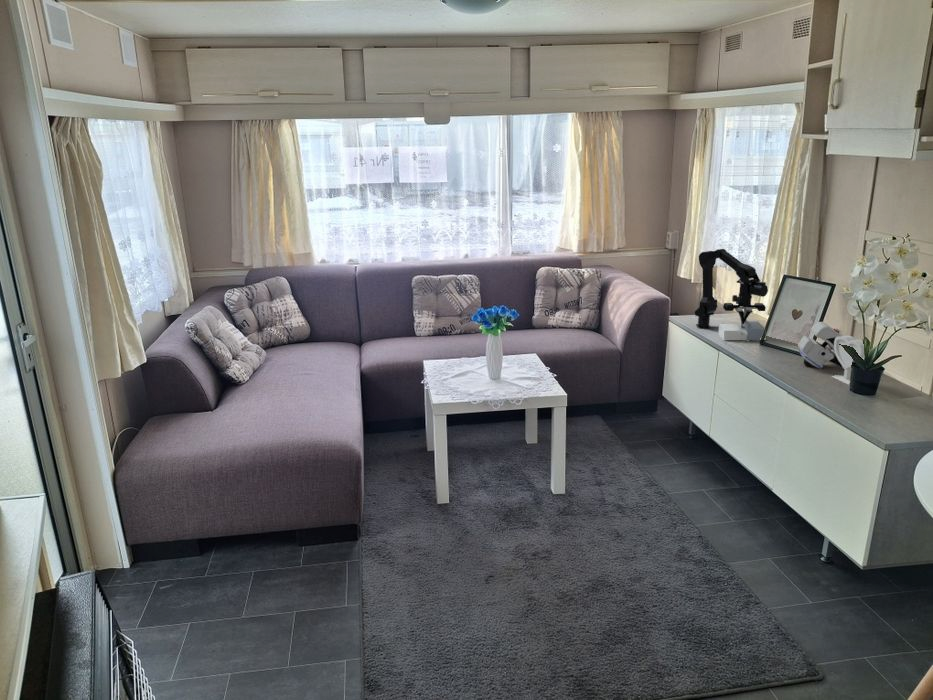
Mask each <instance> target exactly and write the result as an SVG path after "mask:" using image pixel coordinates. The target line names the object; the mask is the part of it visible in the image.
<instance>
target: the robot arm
mask: <svg viewBox="0 0 933 700" xmlns="http://www.w3.org/2000/svg"><path fill="white" fill-rule="evenodd" d="M717 259H719V260H721V261H722V262H723V263H725V264H726V265H727V266H728V267H729V268H731V269H732V270H734V271H735V274H736V276H737V277H738V278H739V279H737V280H736V283H737V284H739V292H738V295H737V294H734V295H732V296H731V297H732V298H731V302H724V303H723V305H722V308H723V310H724V311H726V312H733V311H734V310H735V311H736V312H737V313H738V315H739V319H740V322H741V323H742V324H744V323H745V321H746V320H747V319H748V318H749V316H750V315H751V314H753V312H754V311H753V310H754V309H755V310H757V311H759V312H766V305H765V304H764V303H762V302H754V304H752V299H753V296H756V297H762V298H764V297H765V296H767V294H768V292H769V288H768V286H767V285H766V284H767V283H766V281H761V280H760V278H759V275H758V273H757V272H756V268H755V267H753V266H752V265H749V264H746V263H743V262H741V261H740V260H739V259H737V258H736V257H735V256H734V255H732V254H731V253H730V252H728V251H727V250H726V248H725V249H724V248H718V249H715V250H707V251H701V252H700V254H699V255H698V262H699V265H700V267H701V269H702V297H701V299H700V301H699V307H698V308H697V309H696V310H695V311H694V315H695V317H698V318H697V323H696V325H695V326H696V328H698V329H711V328H712V326H711V325H710V322H711V321H710V320H711V319H710V317H711V316H714V314H715V313H716V311H717V309H718V299H715V297H714V290H713V289H714V287H713V286H714V284H713V283H714V280H713V278H714V276H713V275H714V266H715V264H716V261H717ZM734 302H735V304H733V303H734ZM741 323H740V324H741Z"/></svg>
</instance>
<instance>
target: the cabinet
mask: <svg viewBox="0 0 933 700" xmlns="http://www.w3.org/2000/svg"><path fill="white" fill-rule="evenodd" d="M740 328H746V329H747V330H748V334H747V340H753V341H752V342H760V341H759V340H760V338H761V337H762V335H763V332H764V329H765V330H766V328H765V326H763V325H762V324H761V323H760V322H759V321H756V320H755V321H754V320H753V321H752V320H749V321H748V320H747V319H746V321H745V323H744V324H742V323H740ZM754 340H756V341H754Z"/></svg>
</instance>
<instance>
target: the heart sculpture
mask: <svg viewBox="0 0 933 700" xmlns="http://www.w3.org/2000/svg"><path fill="white" fill-rule="evenodd" d="M839 344H841V345H847V346H850V347H853V348H854V349H855V350H856V352H857V353H858V355H859V356H860V357H861V358H862V359H863V358H864V357H865V356H864V344H863V340H862V339H856V338H855V337H854V336H851V335H842V336H839V337H836V338H835V341H834V351H835V354H836V355H835V354H834V355H835V356H836V357H837V359H838V360H839V362H840V363H841V365H842V366H843V368H844V371H843V374H835V375H834V376H833V375H831V377H832V378H834V379H836V380H839V382H842V383H843V384H846V385H848V386H850V385H849V383H850V379H851V374H852V373H851V372H852V368H851V365H852V361H853V359H852V357H851V356H850V355H849V354H848V353H847V352H846V351H845V350H844V348H843V347H842V346H841V345H839ZM843 368H842V369H843Z"/></svg>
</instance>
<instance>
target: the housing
mask: <svg viewBox="0 0 933 700" xmlns="http://www.w3.org/2000/svg"><path fill="white" fill-rule="evenodd" d="M717 333H718V335H719V337H720V338H721V337H722V338H721V339H722V340H723V341H724V340H747V334H748V330H747V329H746V328H741V327H739V326H738V324H737V323H719V324H718V332H717Z"/></svg>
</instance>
